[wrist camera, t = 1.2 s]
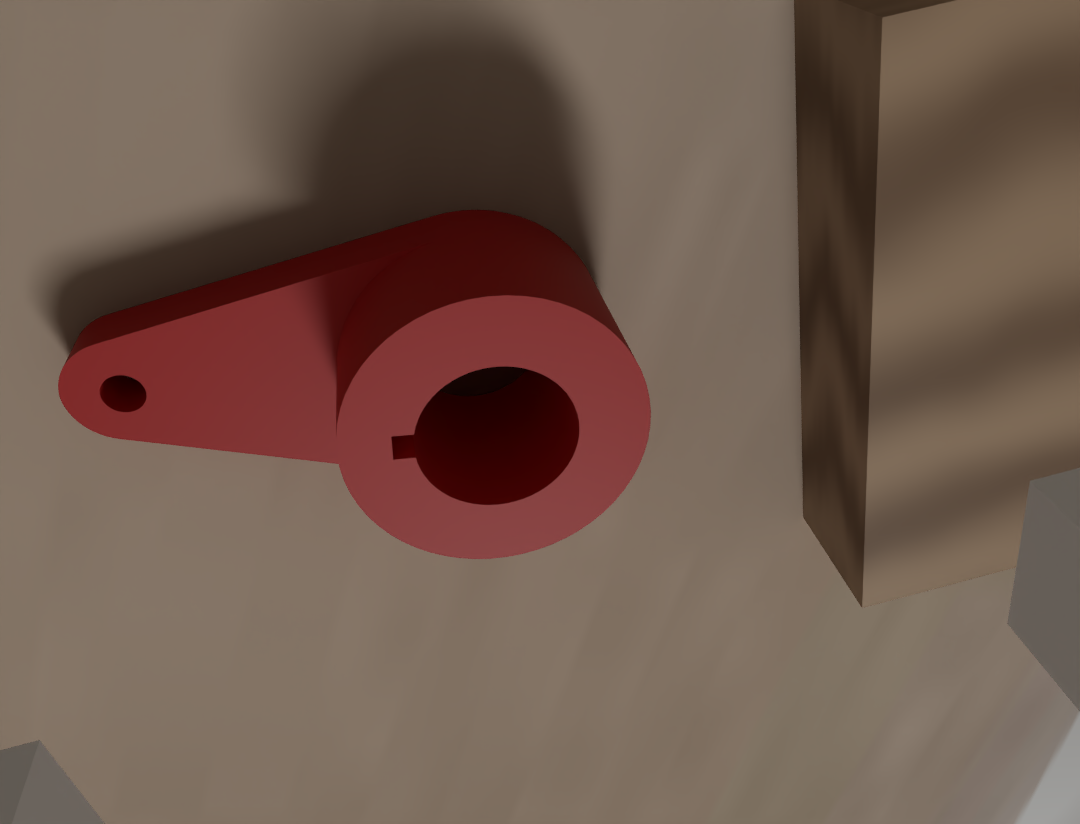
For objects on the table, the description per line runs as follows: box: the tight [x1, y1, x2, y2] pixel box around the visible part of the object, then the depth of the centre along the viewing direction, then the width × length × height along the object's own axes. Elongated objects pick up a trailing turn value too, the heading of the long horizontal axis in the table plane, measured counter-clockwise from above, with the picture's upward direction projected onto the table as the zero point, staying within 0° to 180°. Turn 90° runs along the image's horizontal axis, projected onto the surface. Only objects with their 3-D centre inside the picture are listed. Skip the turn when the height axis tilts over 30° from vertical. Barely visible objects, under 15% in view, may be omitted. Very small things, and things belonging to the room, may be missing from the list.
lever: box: [58, 210, 651, 559], centre depth 29 cm, size 18×9×7 cm, turn 89°
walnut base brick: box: [794, 0, 1080, 608], centre depth 33 cm, size 22×14×6 cm, turn 10°
